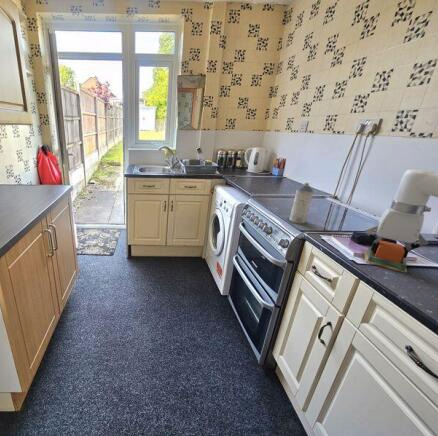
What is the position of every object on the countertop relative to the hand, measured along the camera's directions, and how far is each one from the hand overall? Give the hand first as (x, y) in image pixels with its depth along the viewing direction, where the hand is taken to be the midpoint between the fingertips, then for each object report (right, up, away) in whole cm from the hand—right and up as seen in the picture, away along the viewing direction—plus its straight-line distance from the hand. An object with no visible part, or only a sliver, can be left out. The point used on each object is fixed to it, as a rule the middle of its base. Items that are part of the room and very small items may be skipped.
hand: (386, 255), depth 87 cm
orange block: (0, -1, 0) cm, 1 cm away
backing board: (0, -3, +1) cm, 3 cm away
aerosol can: (-10, +11, +37) cm, 39 cm away
